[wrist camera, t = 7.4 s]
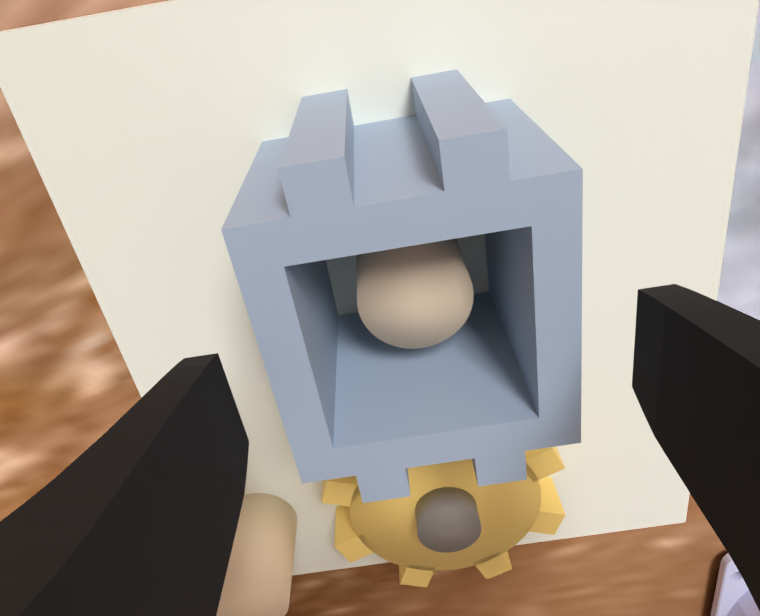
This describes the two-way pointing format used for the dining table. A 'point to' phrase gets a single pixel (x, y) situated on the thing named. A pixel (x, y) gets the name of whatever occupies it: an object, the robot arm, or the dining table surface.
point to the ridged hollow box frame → (401, 229)
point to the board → (244, 86)
